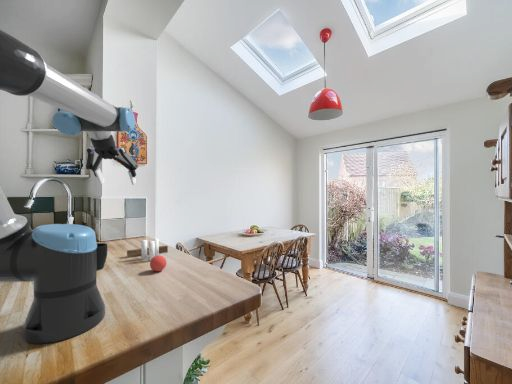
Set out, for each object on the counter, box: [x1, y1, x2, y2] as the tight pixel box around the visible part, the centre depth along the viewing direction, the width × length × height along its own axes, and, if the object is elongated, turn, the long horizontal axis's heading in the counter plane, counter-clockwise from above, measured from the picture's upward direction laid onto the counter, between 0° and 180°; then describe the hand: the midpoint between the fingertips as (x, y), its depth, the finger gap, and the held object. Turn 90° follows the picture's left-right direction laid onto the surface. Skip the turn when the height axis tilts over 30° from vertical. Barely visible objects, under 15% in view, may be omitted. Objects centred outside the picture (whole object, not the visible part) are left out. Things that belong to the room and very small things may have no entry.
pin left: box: [140, 239, 148, 261], centre depth 108 cm, size 2×2×8 cm
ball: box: [149, 254, 167, 272], centre depth 92 cm, size 6×6×6 cm
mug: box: [96, 242, 108, 272], centre depth 96 cm, size 8×12×10 cm
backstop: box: [126, 245, 169, 259], centre depth 116 cm, size 2×18×3 cm, turn 122°
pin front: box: [148, 240, 155, 262], centre depth 106 cm, size 2×2×8 cm
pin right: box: [152, 238, 160, 256], centre depth 111 cm, size 2×2×8 cm
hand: (118, 182), depth 102 cm, fingers open, 13 cm apart
